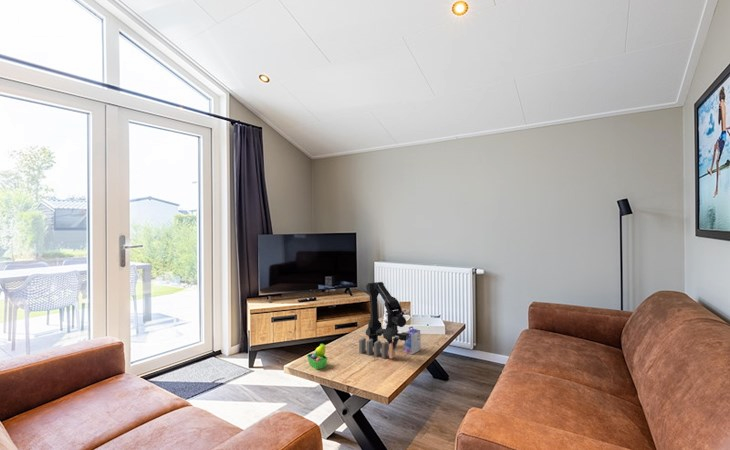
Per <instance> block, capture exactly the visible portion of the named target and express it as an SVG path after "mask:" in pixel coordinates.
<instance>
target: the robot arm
mask: <svg viewBox="0 0 730 450" xmlns="http://www.w3.org/2000/svg"><path fill="white" fill-rule="evenodd" d="M365 288H366V289H365V290H366V292H367V294H368V296H369V308H370V309H369V311H370V313H369V314H370V320H369V322H368V325H367V329H366V330H365V335H366V336H367V337H368V340H370V339H373V347H374V343H375V342H376V341H378V340H379V337H382V336H383V339H385V340H386V342H388V345H389V344H390V343H391V342H392V341H393V350H394V349H395V350H396V346H397V345H398V342H399V340H400V341H404V342H405V341H406V340H407V339H408V338H409V334H408V333H405V332H406V331H405V332H404V331H403V332H401V333H399V330H398V327H399V328H403V327H405V325H406V324H407V319H406V317H404V314H403V309H402V307H401V304H400V302H399V300H398V299H397V298H396V297H394V296H392V295H391V293H390V292H389V291H388V289H387V288H386V286H385V283H384V282H383V281H379V282H378V281H377V282H376V281H375V282H367V284H366V286H365ZM379 295H380V297H381V298H382V300H383V301H384V307H385V309H386V310H385V313H386V314H387V315H386V316H387V323H386V325H385V326H386V327H385V328H383V327H382V322H380V320H379V307H378V306H379V305H378V303H379V302H378V297H379Z"/></svg>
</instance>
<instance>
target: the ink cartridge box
mask: <svg viewBox="0 0 730 450" xmlns="http://www.w3.org/2000/svg"><path fill="white" fill-rule="evenodd" d="M405 333H408V334H409V338H408V339H407V340H406V341H404V350H405V351H404V352H405V353H406V354H409V355H413V354H416V353H417V352H419V351H421V348H422V347H421V346H422V345H421V342H422V341H421V330H420V329H417V328H414V327H413V326H408V331H405Z"/></svg>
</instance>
